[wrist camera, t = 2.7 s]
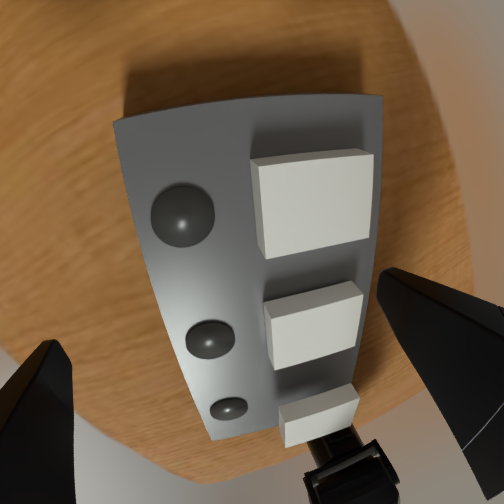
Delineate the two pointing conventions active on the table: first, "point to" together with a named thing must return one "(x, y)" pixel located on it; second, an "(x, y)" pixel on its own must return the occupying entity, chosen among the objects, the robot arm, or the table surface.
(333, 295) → the middle button
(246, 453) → the table surface
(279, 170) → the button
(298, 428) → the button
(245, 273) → the control panel
